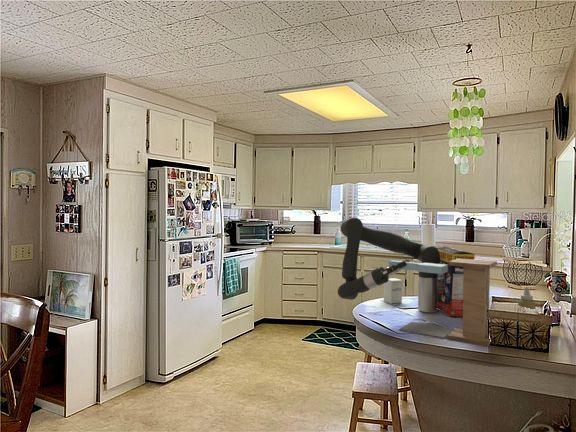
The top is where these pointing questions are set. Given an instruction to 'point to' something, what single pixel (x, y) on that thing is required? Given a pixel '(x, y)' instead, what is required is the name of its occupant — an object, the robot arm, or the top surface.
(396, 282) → the supplement box
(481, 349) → the top surface
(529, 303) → the squeeze bottle
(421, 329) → the mat
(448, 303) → the cereal box
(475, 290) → the wooden pedestal stand
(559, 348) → the top surface
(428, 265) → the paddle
